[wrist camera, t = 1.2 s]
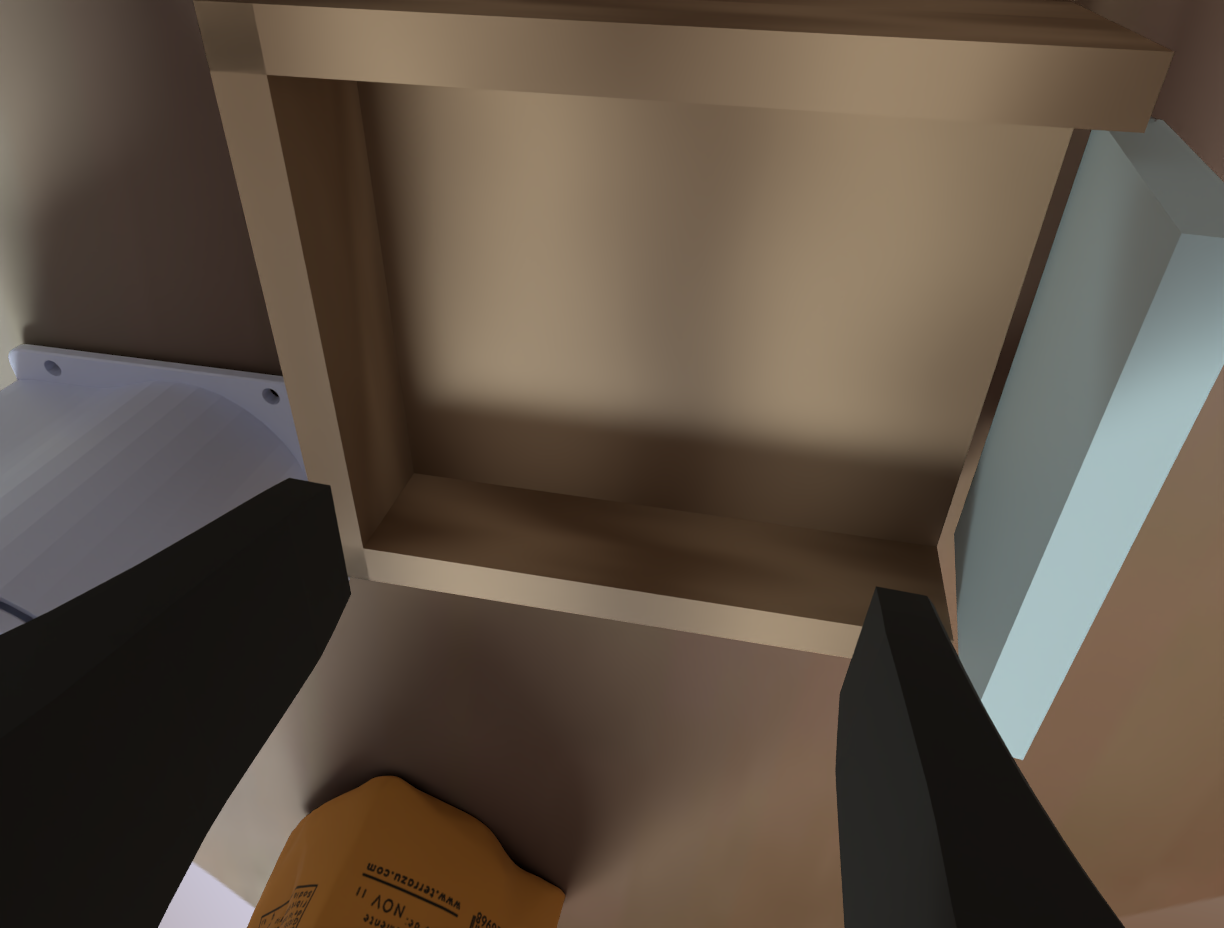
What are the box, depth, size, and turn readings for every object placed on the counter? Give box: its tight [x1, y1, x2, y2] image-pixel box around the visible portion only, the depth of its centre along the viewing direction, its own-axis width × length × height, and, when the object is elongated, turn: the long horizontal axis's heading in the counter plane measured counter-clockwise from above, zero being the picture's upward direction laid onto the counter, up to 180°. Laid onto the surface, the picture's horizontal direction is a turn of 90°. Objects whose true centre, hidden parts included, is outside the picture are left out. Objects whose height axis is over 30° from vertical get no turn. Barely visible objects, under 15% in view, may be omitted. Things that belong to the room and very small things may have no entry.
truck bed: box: [193, 0, 1175, 659], centre depth 17 cm, size 14×12×6 cm
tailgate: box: [954, 117, 1224, 760], centre depth 14 cm, size 1×9×6 cm, turn 179°
